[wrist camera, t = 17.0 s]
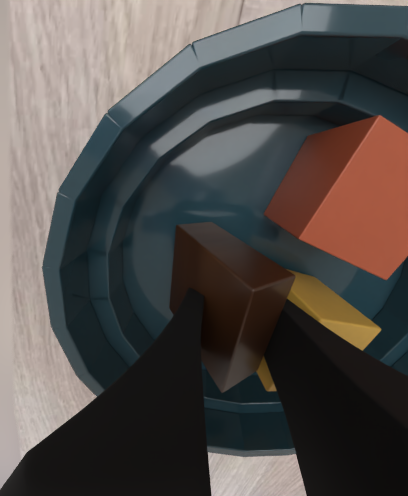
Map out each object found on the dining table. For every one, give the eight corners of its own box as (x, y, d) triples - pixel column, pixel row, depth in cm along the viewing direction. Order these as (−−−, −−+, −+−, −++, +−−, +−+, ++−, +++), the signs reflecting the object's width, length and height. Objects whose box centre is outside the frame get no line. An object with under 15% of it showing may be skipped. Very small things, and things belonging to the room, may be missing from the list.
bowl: (67, 337, 14) (11, 409, 10) (174, -28, 8) (147, -257, 4) (300, 405, 17) (333, 481, 13) (502, 191, 11) (685, 205, 7)
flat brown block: (168, 308, 11) (221, 394, 8) (175, 224, 9) (254, 290, 6) (199, 298, 12) (258, 370, 9) (211, 221, 10) (297, 275, 7)
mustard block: (229, 320, 12) (266, 392, 8) (263, 261, 11) (322, 319, 7) (280, 326, 13) (328, 389, 10) (314, 276, 12) (383, 329, 9)
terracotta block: (262, 214, 11) (298, 239, 7) (307, 135, 9) (380, 113, 6) (324, 243, 11) (386, 281, 8) (374, 174, 10) (477, 178, 6)
